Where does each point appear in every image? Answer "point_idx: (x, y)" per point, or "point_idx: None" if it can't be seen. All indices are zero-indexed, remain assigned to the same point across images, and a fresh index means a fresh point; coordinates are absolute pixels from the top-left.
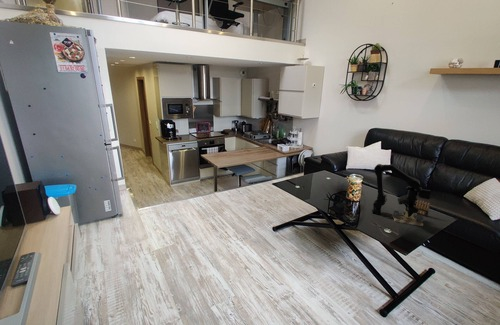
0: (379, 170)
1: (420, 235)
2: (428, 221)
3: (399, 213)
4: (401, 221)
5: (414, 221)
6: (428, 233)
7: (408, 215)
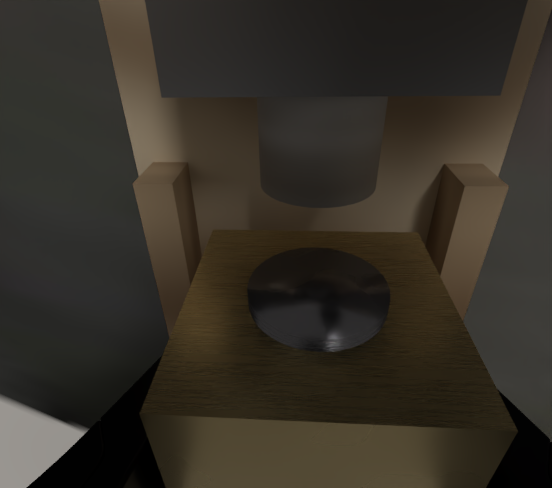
0: None
1: None
2: None
3: (222, 90)
4: (131, 113)
5: None
6: (18, 394)
7: None
